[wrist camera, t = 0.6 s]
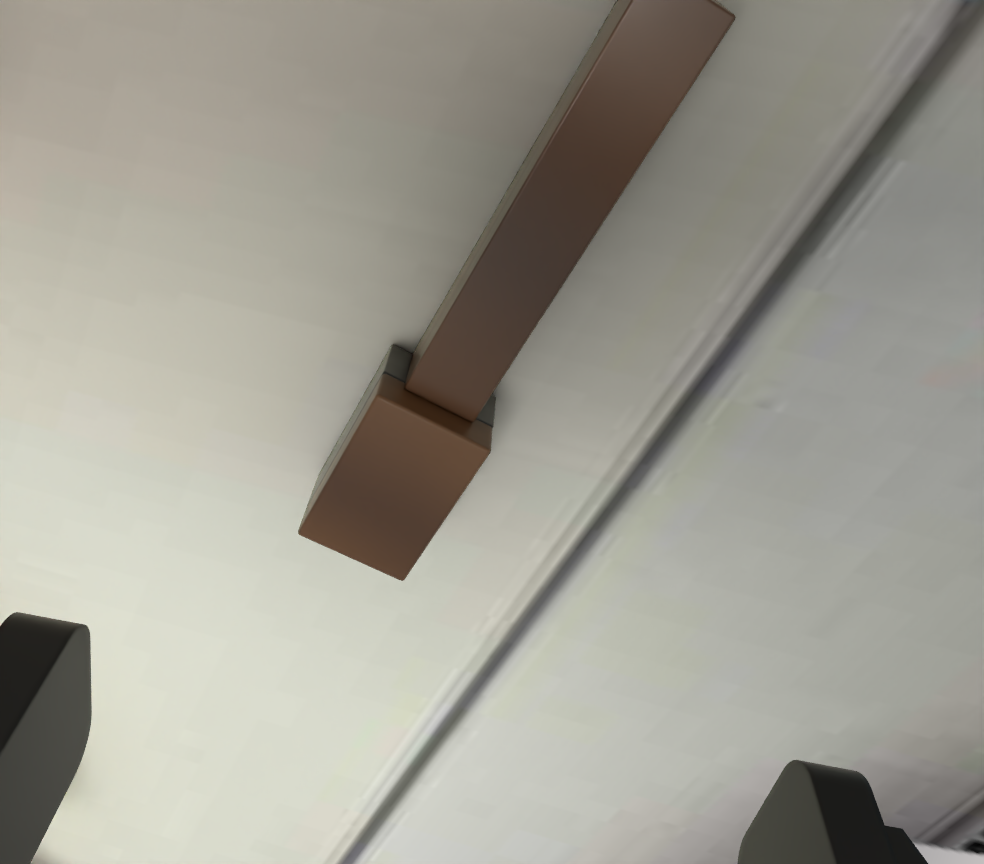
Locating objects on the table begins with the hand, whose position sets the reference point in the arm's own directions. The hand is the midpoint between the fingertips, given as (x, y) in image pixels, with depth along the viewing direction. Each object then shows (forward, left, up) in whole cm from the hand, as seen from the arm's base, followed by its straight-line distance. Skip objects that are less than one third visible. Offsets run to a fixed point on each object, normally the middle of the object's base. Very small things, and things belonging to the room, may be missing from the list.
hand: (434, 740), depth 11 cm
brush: (0, 0, -15) cm, 15 cm away
